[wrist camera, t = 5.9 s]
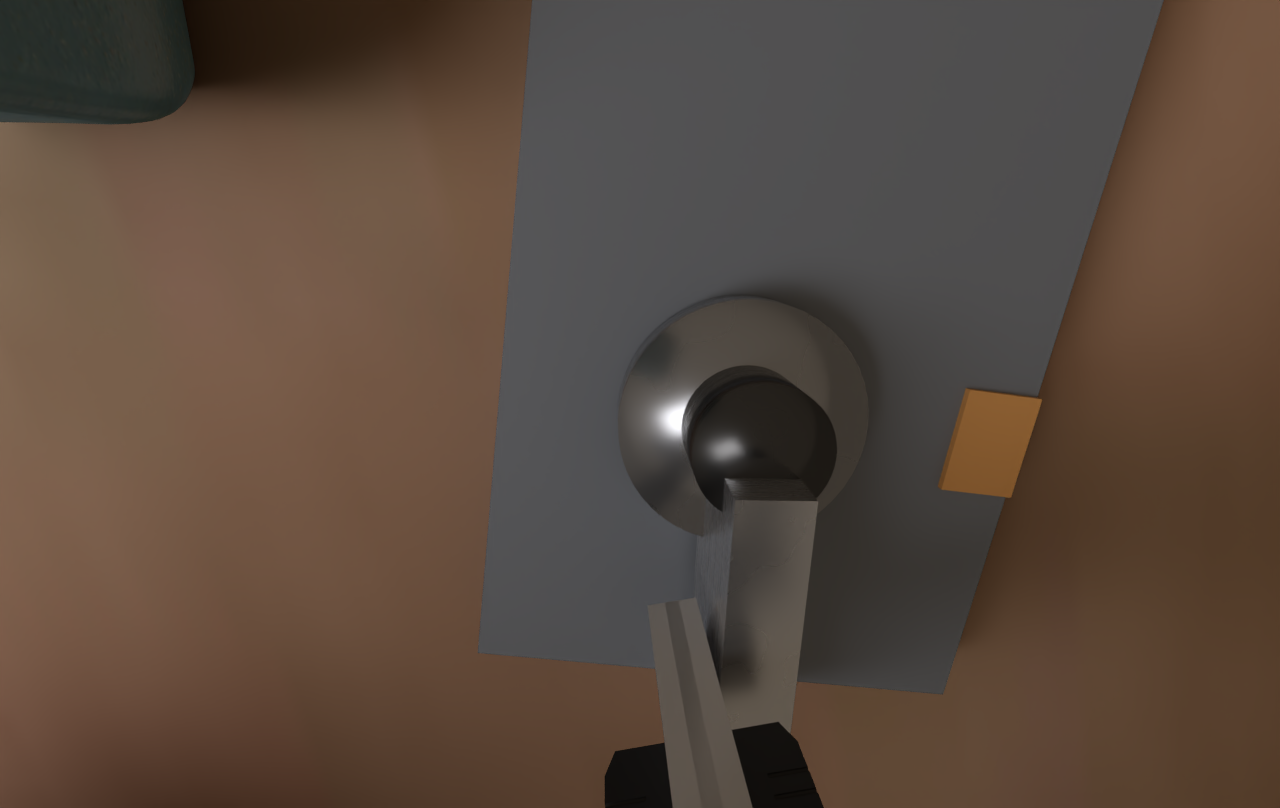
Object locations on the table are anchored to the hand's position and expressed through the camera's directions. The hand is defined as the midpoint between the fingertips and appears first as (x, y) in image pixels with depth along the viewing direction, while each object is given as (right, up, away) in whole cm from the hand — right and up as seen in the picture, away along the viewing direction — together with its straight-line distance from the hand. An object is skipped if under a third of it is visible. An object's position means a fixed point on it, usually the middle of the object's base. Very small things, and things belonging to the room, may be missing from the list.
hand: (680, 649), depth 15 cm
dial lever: (+1, +3, +1) cm, 4 cm away
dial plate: (+3, +8, +3) cm, 9 cm away
